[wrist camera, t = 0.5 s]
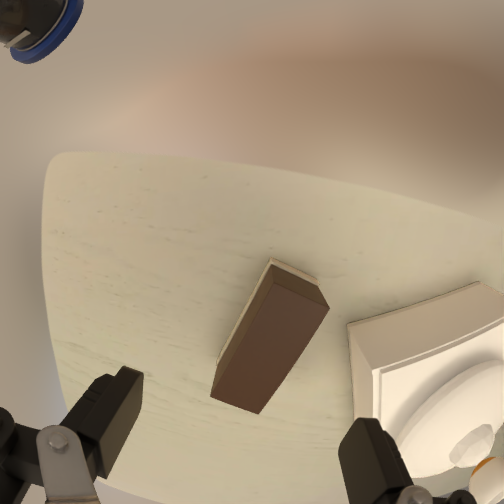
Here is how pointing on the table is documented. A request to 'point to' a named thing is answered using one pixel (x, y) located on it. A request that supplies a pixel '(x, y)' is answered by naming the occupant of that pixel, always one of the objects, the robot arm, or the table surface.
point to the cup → (488, 481)
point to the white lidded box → (434, 377)
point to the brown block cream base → (268, 336)
